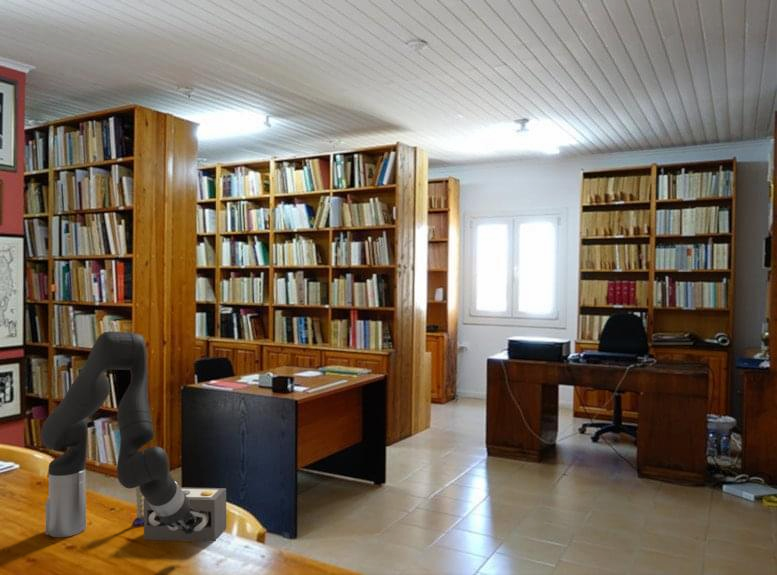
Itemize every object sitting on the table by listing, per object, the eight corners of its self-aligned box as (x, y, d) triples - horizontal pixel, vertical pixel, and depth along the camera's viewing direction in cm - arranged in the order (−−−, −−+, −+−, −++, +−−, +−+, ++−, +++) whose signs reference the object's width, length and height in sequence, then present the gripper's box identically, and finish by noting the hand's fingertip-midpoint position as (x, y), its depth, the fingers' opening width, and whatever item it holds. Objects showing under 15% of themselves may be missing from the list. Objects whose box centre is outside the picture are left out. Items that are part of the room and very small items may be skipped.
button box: (143, 539, 163) (143, 496, 162) (159, 526, 172) (158, 484, 171) (214, 541, 161) (214, 497, 161) (226, 528, 170) (226, 486, 170)
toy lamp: (141, 528, 170) (140, 470, 170) (126, 526, 171) (126, 469, 171) (151, 521, 175) (150, 465, 175) (137, 520, 176) (136, 464, 176)
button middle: (167, 530, 158) (166, 517, 158) (177, 520, 165) (177, 507, 165) (180, 530, 158) (179, 517, 158) (190, 521, 165) (189, 508, 165)
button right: (190, 531, 158) (190, 517, 158) (200, 521, 164) (200, 508, 164) (203, 531, 158) (203, 518, 158) (212, 521, 164) (212, 508, 164)
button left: (148, 525, 162) (148, 512, 162) (159, 516, 168) (159, 503, 168) (161, 525, 161) (161, 512, 161) (171, 516, 168) (171, 503, 168)
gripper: (199, 486, 143) (218, 516, 156) (146, 484, 144) (169, 515, 157) (190, 516, 138) (210, 545, 150) (135, 515, 139) (160, 544, 151)
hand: (189, 530), depth 153 cm, fingers closed
